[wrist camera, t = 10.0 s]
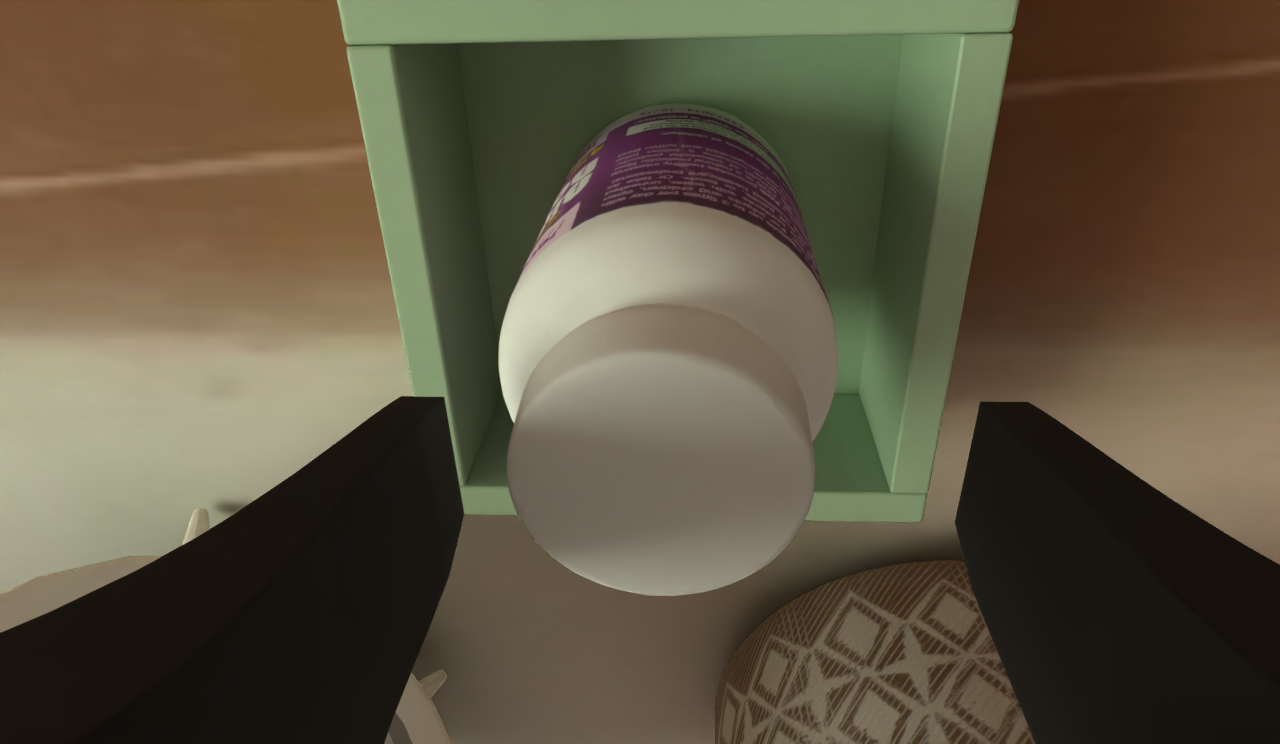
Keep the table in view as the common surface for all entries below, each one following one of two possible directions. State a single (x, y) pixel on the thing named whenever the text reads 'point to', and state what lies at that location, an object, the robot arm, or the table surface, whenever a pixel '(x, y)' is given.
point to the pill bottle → (668, 358)
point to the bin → (713, 77)
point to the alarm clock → (416, 723)
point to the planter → (873, 667)
